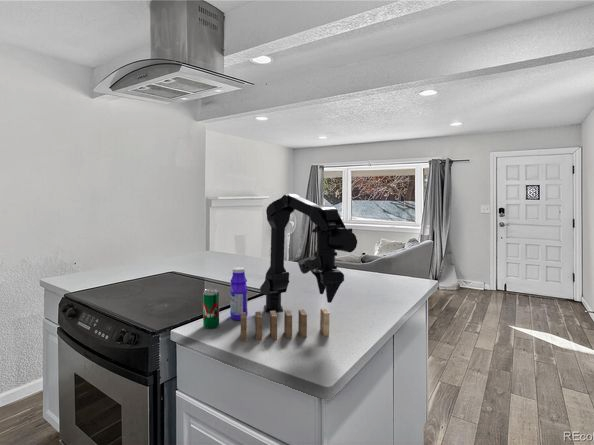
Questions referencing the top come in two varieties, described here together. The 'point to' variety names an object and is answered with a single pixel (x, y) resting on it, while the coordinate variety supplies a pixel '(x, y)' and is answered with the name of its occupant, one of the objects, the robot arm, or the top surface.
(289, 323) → the domino
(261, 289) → the robot arm
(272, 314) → the domino
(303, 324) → the domino
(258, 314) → the domino
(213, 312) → the soda can
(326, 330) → the oak domino
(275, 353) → the top surface
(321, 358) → the top surface
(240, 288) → the bottle
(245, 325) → the domino
